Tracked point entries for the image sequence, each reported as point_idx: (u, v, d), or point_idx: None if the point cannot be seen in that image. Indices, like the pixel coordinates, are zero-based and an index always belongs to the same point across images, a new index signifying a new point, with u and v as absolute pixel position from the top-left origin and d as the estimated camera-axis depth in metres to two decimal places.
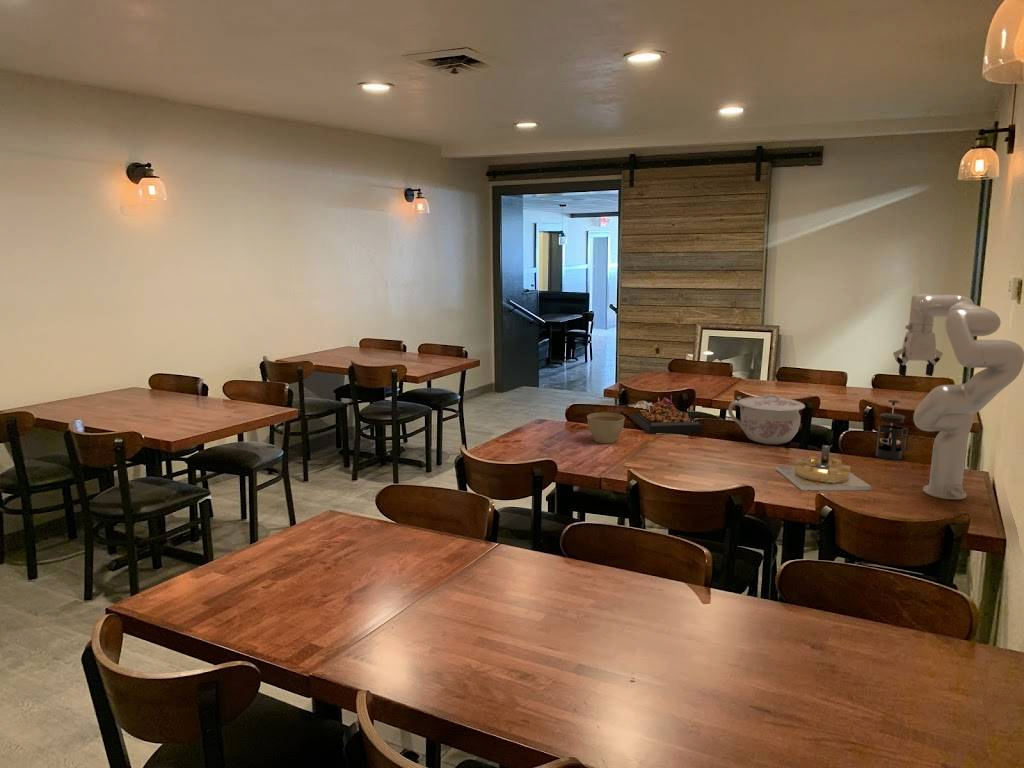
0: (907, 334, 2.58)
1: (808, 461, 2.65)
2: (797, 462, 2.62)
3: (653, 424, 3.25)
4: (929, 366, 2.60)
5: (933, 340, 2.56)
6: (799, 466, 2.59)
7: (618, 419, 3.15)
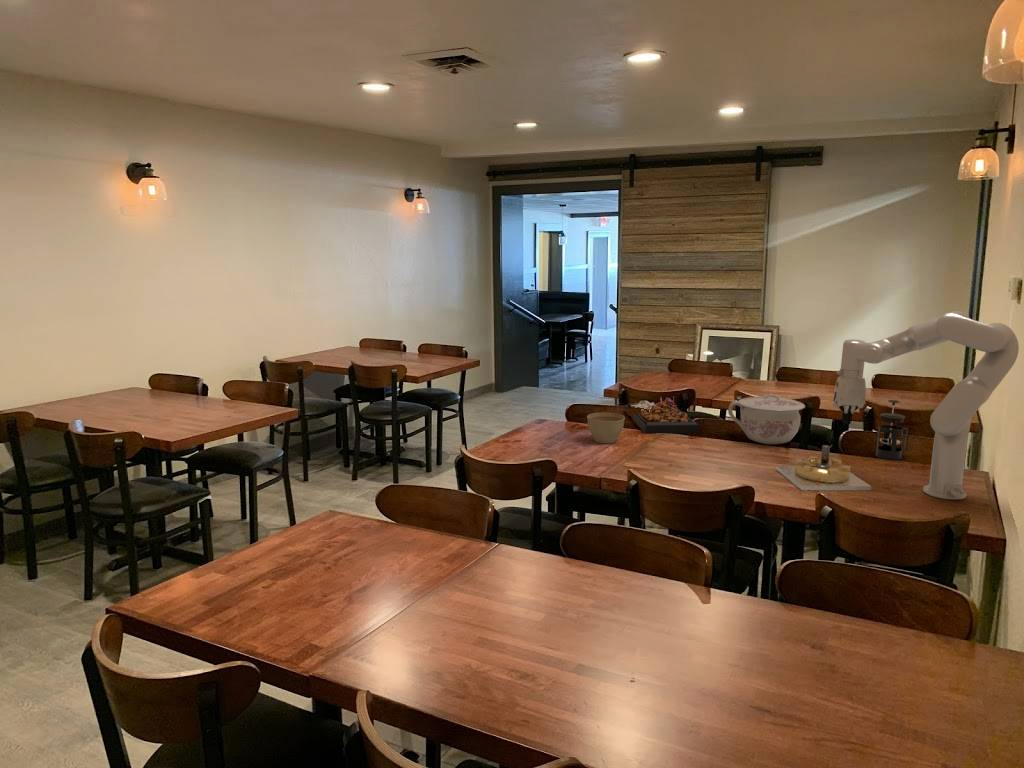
0: (838, 379, 2.60)
1: (808, 461, 2.65)
2: (797, 462, 2.62)
3: (649, 423, 3.26)
4: None
5: (863, 386, 2.58)
6: (799, 466, 2.59)
7: (618, 419, 3.15)
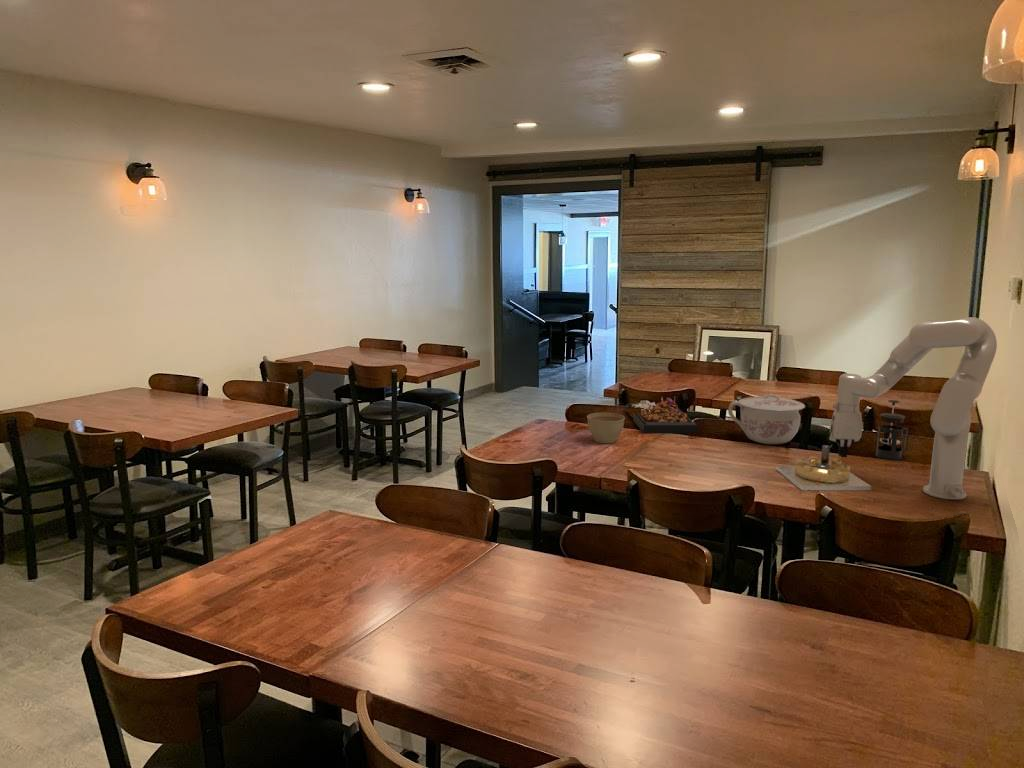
0: (834, 413, 2.62)
1: (808, 461, 2.65)
2: (797, 462, 2.62)
3: (648, 423, 3.26)
4: None
5: (859, 420, 2.60)
6: (799, 466, 2.59)
7: (618, 419, 3.15)
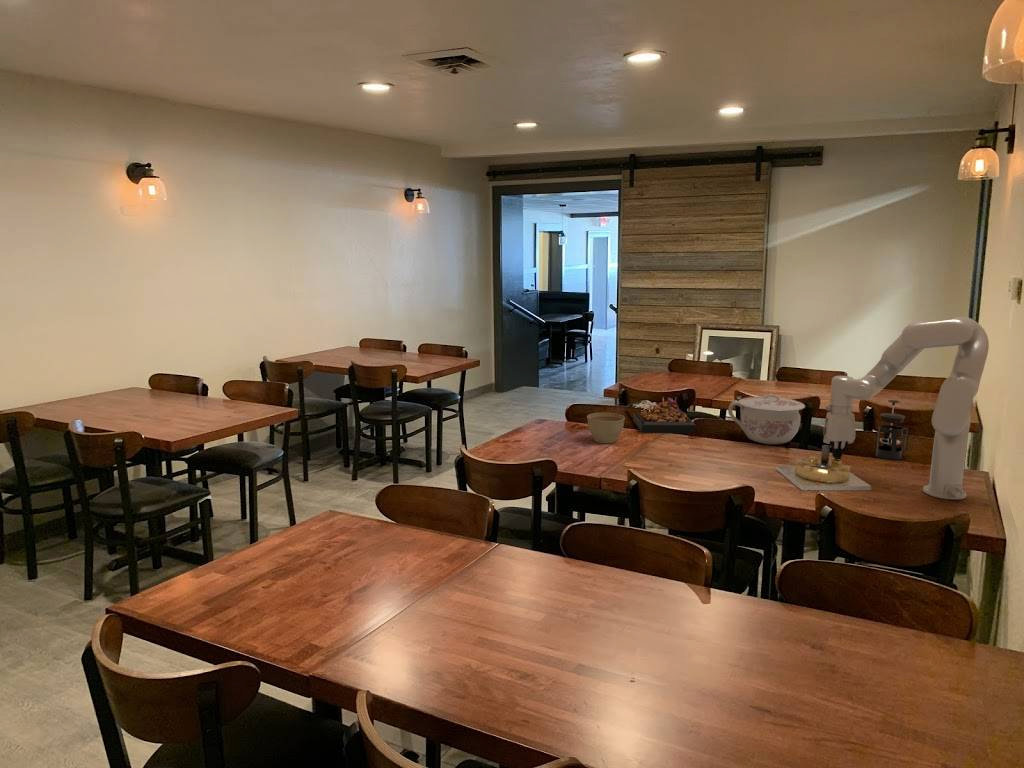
0: (827, 415, 2.62)
1: (808, 461, 2.65)
2: (797, 462, 2.62)
3: (646, 423, 3.27)
4: None
5: (852, 422, 2.60)
6: (799, 466, 2.59)
7: (618, 419, 3.15)
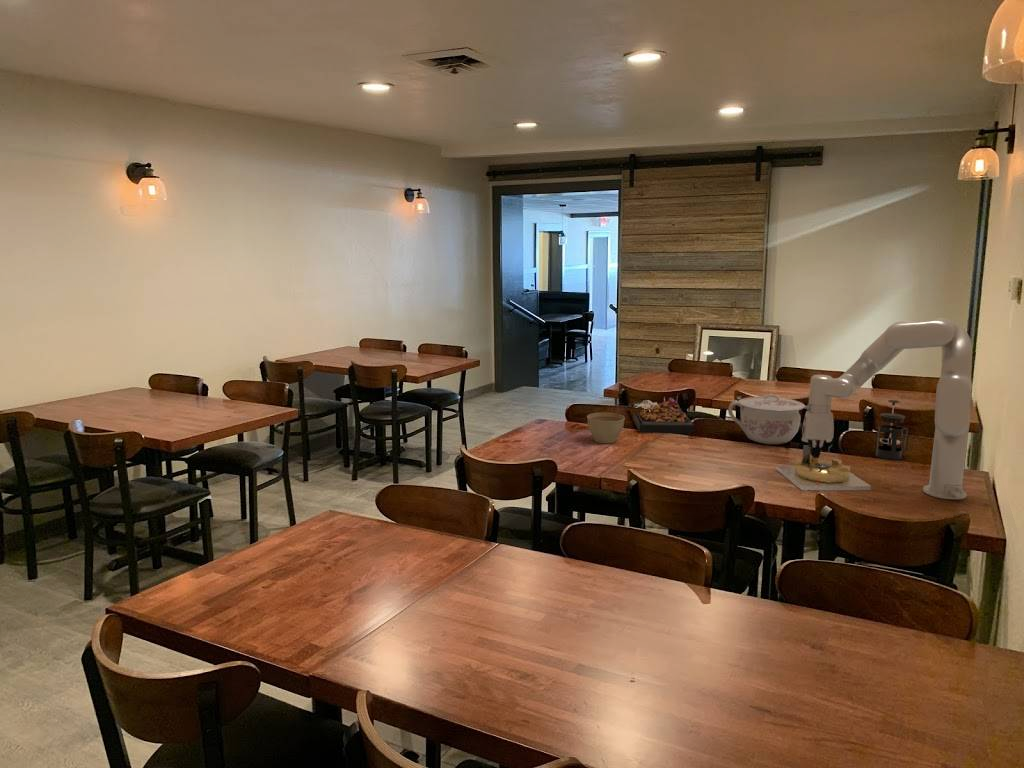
0: (806, 414, 2.63)
1: (802, 465, 2.60)
2: (810, 469, 2.54)
3: (644, 423, 3.27)
4: None
5: (831, 421, 2.61)
6: (818, 472, 2.52)
7: (618, 419, 3.15)
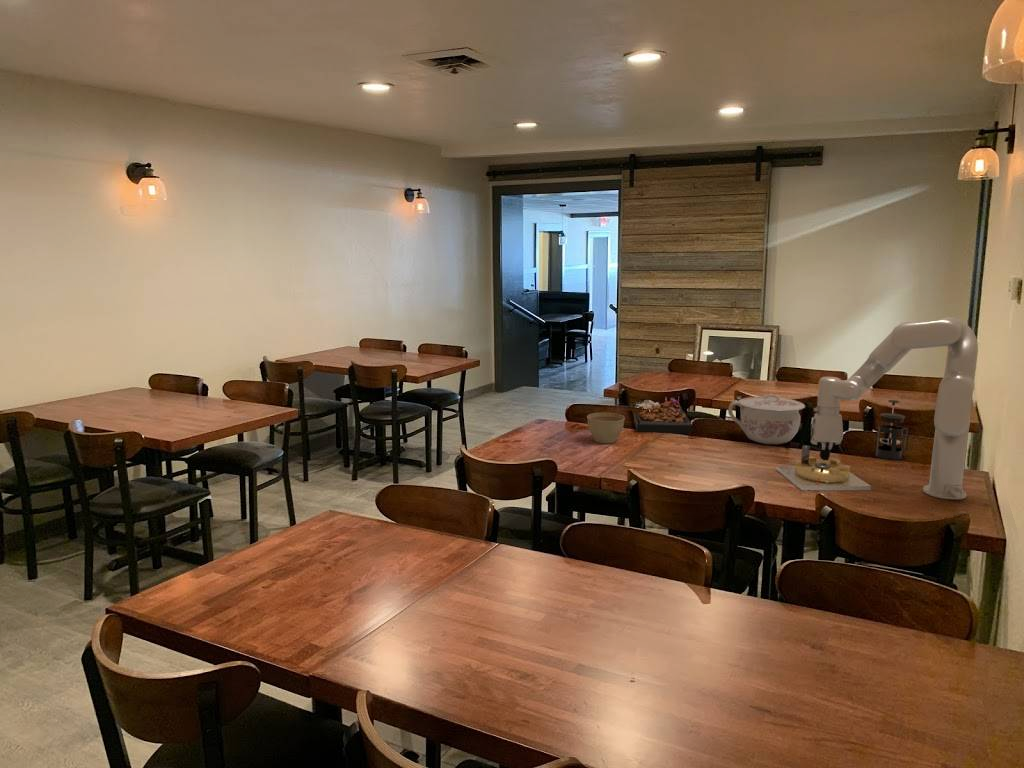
0: (815, 416, 2.62)
1: (802, 466, 2.59)
2: (812, 469, 2.53)
3: (642, 422, 3.28)
4: None
5: (840, 423, 2.60)
6: (820, 472, 2.52)
7: (618, 419, 3.15)
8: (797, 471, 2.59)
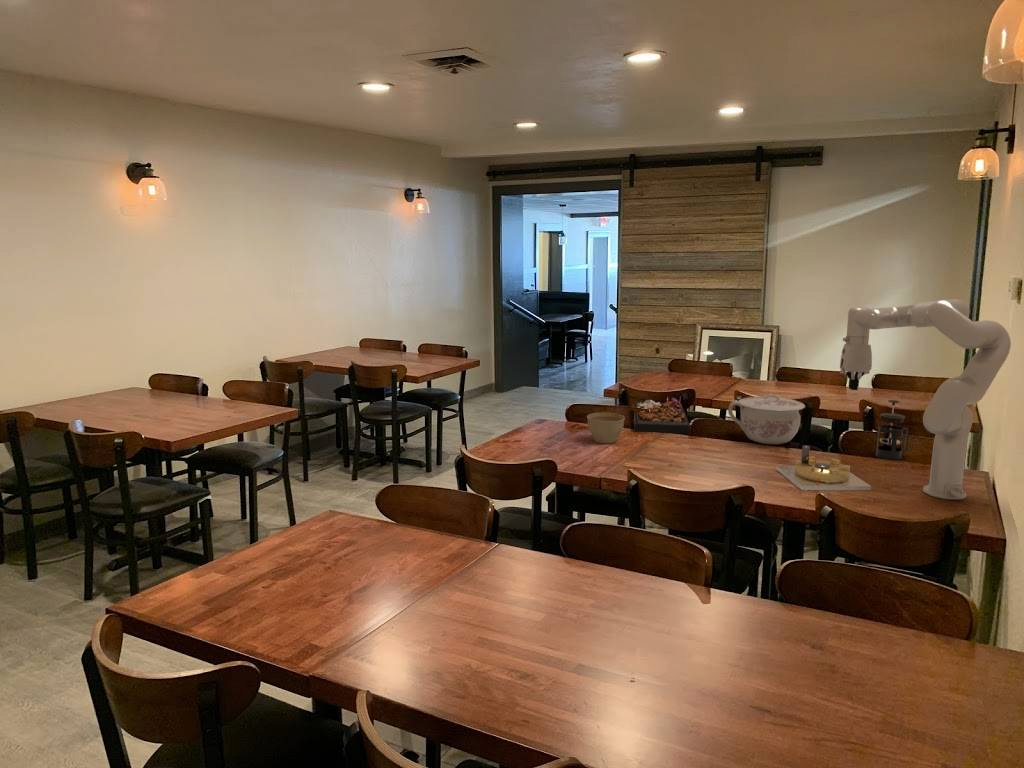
0: (845, 346, 2.66)
1: (802, 466, 2.60)
2: (812, 469, 2.53)
3: (640, 422, 3.29)
4: None
5: (869, 352, 2.64)
6: (820, 472, 2.52)
7: (618, 419, 3.15)
8: (797, 471, 2.59)
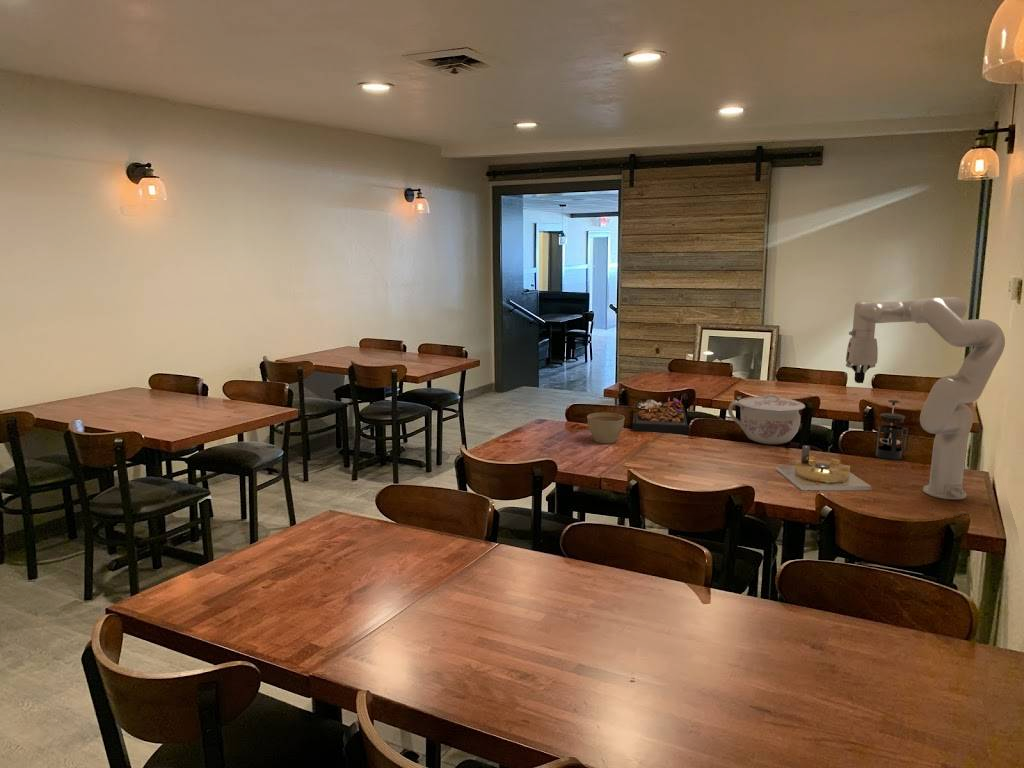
0: (850, 340, 2.69)
1: (802, 466, 2.60)
2: (812, 469, 2.53)
3: (638, 422, 3.30)
4: None
5: (875, 346, 2.67)
6: (820, 472, 2.52)
7: (618, 419, 3.15)
8: (797, 471, 2.59)
